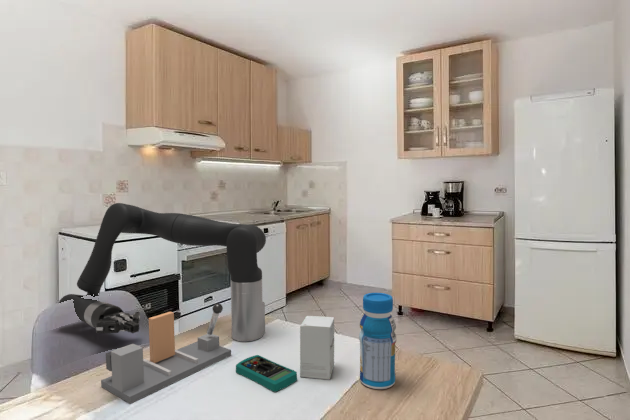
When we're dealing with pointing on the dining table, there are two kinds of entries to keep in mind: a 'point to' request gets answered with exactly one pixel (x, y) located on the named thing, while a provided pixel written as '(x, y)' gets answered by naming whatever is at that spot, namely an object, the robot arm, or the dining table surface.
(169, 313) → the tan upright board
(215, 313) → the toggle lever
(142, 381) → the console
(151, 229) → the robot arm
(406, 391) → the dining table surface
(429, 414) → the dining table surface
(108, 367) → the push button
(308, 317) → the supplement box
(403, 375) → the dining table surface
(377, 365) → the beverage bottle
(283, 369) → the digital multimeter
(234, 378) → the dining table surface
